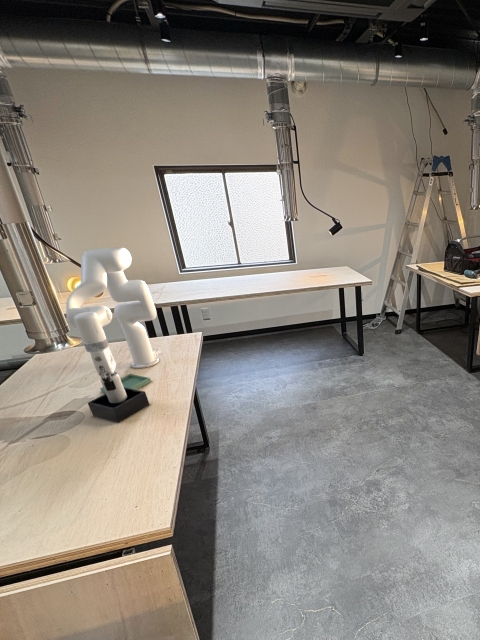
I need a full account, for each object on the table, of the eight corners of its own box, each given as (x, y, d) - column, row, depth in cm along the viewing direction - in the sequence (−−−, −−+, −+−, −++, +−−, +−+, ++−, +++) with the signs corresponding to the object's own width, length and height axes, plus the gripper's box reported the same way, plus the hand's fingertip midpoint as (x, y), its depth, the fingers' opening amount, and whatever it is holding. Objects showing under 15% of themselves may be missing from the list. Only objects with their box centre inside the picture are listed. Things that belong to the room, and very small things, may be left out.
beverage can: (119, 405, 164) (109, 379, 158) (106, 404, 166) (95, 377, 160) (131, 397, 170) (121, 371, 164) (118, 396, 171) (107, 370, 165)
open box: (125, 399, 178) (120, 386, 175) (149, 404, 173) (145, 391, 170) (93, 416, 166) (87, 402, 163) (118, 423, 161) (113, 409, 158)
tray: (131, 377, 196) (129, 373, 196) (151, 381, 192) (150, 377, 191) (101, 392, 184) (100, 388, 183) (122, 396, 180) (120, 392, 179)
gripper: (104, 351, 150) (120, 393, 159) (111, 335, 164) (126, 374, 173) (80, 355, 147) (98, 398, 156) (89, 338, 161) (105, 378, 170)
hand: (112, 385), depth 164 cm, fingers closed on beverage can, 6 cm apart
